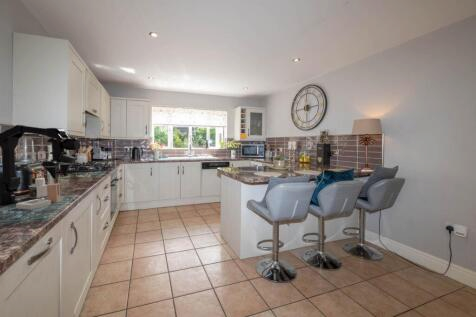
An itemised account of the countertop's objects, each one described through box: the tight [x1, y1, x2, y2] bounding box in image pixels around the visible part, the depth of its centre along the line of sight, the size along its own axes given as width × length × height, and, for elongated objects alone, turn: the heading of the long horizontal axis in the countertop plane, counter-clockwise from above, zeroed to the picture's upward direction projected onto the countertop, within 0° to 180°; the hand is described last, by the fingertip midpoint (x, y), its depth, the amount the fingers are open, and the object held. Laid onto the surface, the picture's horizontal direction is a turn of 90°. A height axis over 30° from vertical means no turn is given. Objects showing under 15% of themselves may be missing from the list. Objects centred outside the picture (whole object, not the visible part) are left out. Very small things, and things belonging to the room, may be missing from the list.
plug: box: [46, 182, 61, 203], centre depth 133 cm, size 5×4×10 cm
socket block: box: [15, 198, 52, 211], centre depth 122 cm, size 10×10×2 cm
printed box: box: [28, 177, 48, 199], centre depth 143 cm, size 7×7×12 cm
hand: (59, 177), depth 129 cm, fingers open, 9 cm apart
